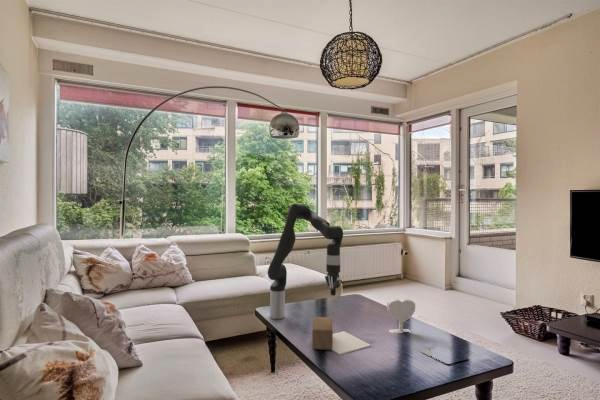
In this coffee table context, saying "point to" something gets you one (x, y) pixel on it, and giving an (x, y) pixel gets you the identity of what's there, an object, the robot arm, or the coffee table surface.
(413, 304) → the heart sculpture
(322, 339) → the block
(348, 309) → the coffee table surface
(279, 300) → the robot arm
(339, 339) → the mat
